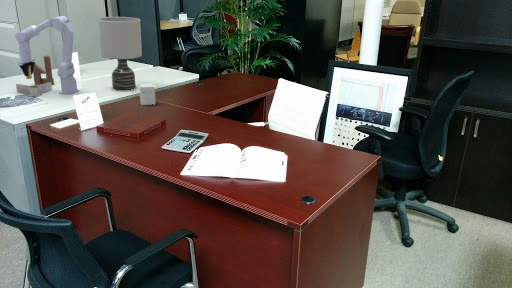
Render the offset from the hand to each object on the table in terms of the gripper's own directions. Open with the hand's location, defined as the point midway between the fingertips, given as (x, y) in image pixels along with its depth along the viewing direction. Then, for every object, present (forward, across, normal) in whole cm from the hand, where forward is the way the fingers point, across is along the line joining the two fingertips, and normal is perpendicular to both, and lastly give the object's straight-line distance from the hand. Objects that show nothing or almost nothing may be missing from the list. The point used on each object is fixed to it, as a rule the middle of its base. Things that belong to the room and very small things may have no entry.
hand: (28, 75), depth 265 cm
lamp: (+9, -17, +51) cm, 55 cm away
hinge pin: (+2, 0, 0) cm, 2 cm away
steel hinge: (+9, +6, +4) cm, 11 cm away
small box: (+9, +12, +76) cm, 77 cm away
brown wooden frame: (+9, -14, +1) cm, 16 cm away
